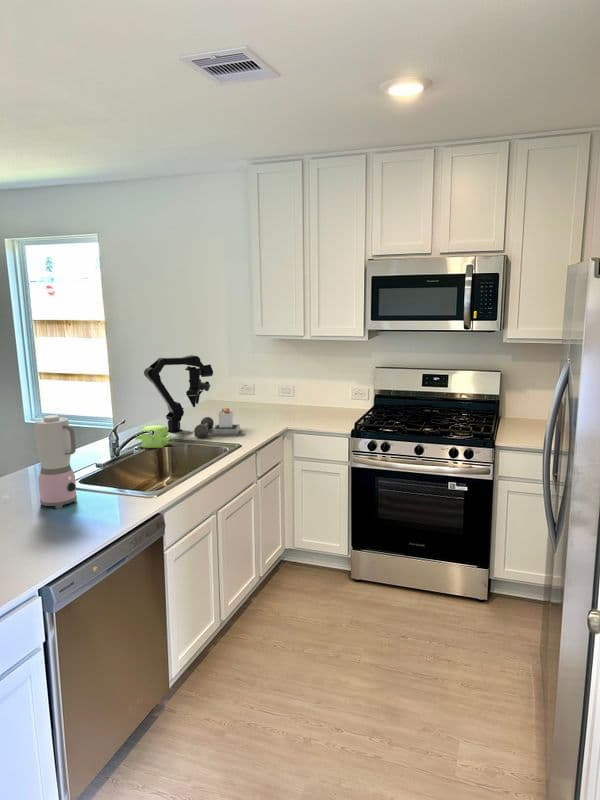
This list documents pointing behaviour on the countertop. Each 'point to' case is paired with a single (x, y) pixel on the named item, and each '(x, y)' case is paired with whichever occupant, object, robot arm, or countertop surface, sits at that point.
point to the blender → (55, 461)
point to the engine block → (226, 419)
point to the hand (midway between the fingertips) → (195, 405)
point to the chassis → (214, 429)
